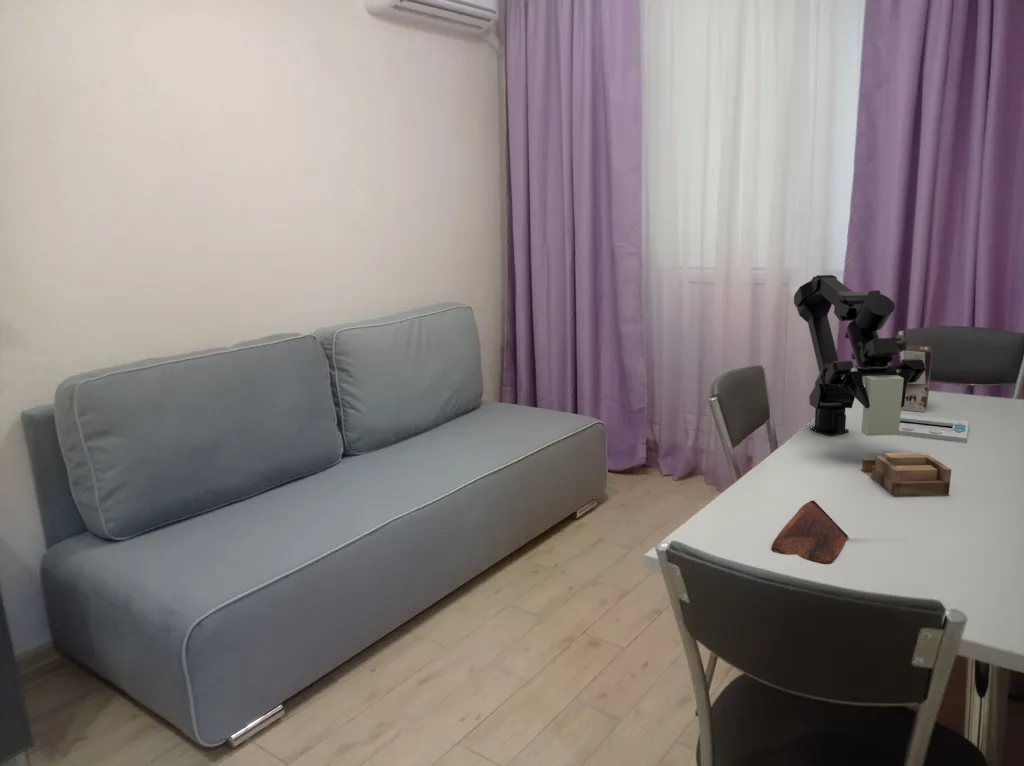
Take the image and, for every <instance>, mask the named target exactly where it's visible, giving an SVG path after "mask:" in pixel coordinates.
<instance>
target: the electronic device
mask: <svg viewBox="0 0 1024 766" xmlns="http://www.w3.org/2000/svg"><path fill="white" fill-rule="evenodd" d="M900 422H909V423H917V424H926V425H927V424H928V425H936V426H945V427H947V426H948V427H952V428H951V429H952V430H951V432H950V431H942V430H939V429H933V428H932V429H924V428H916V427H915V428H914V426H913V427H912V426H906V425H905V426H899V435H898V436H901V435H902V437H904V436H905V437H909V436H912V438H918V437H920V438H919V439H926V438H927V439H928V440H935V441H943V440H944V442H952V441H954V442H953V443H960V442H963V443H962V444H967V440H968V434H969V426H970V421H968V420H959V419H950V418H940V417H939V418H938V417H929V416H920V415H910V414H900Z"/></svg>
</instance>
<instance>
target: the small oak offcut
mask: <svg viewBox="0 0 1024 766" xmlns="http://www.w3.org/2000/svg"><path fill="white" fill-rule="evenodd" d="M896 467H897V468H899V469H900V470H901V481H936V479H937V469H936V468H934V467H932V466H931V465H917V466H896Z"/></svg>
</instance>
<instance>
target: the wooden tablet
mask: <svg viewBox="0 0 1024 766" xmlns="http://www.w3.org/2000/svg"><path fill="white" fill-rule="evenodd" d="M847 539H848V534H847V533H846V532H845V531H844V530H843V529H842V528H841V527H840V526H839V525H838V524H837V523H836V522H835V521H834V519H832V518H831V516H830V515H828V513H827V511H825V510H824V509H823V508H822V507H821V506H820V505H819V504H818V503H817V502H816V501H815V500H810V501H808V502H806V503H805V504H803V505H802V506H800V508H799V509H798V510H797V512H796V513H795V514H794V516H793V517H791V519H789V521H788V522H787V523H786V525H784V526H783V528H782V529H781V530H780V532H779V533H778V535H777V536H776V537H775V539H774V540H773V542H772V544H771V552H773V553H776V554H782V555H788V556H791V555H792V556H795V555H796V556H798V557H800V558H802V559H804V560H807V561H810V562H814V563H818V564H825V565H827V564H831V563H832V562H834V560H836V558H837V557H838V556H839V554H840V552H841V551H842V549H843V548H844V545H845V543H846V542H847Z"/></svg>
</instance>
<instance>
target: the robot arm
mask: <svg viewBox="0 0 1024 766" xmlns="http://www.w3.org/2000/svg"><path fill="white" fill-rule="evenodd" d="M793 303H794V307H796V309H797V312H798V313H797V314H798V315H799V316H800V318H802V319H803V320H804V321H806V323H807V325H808V329H809V332H810V333H809V334H810V338H811V342H812V346H813V350H814V355H815V360H816V363H817V368H818V375H817V377H816V380H815V382H814V387H813V389H812V391H811V393H810V394H809V399H808V400H809V406H811V407H813V408H814V409H815V410H814V411H815V415H814V426H809V429H810V428H811V427H812V428H811V429H813V430H812V431H814V430H816V431H815V432H817V431H818V433H820V432H821V433H820V434H824V435H826V436H834V435H838V434H845V433H849V431H850V430H849V429H848V428H846V421H847V414H846V409H853V405H854V401H855V399H856V400H858V401H859V403H860V404H861V405H862V407H863V406H864V407H865V408H869V407H870V404H869V399H868V396H867V393H866V390H865V383H864V382H863V377H866V376H895V375H898V376H900V377H902V378H904V381H903V392H902V402H901V408H902V407H903V406H904V403H905V393H906V385H907V383H914V382H916V381H917V380H918V379H919V378H920V376H921V375H922V374H923V373H924V371H925V370H926V366H925V363H924V361H923V360H921V359H904V358H902V360H901V361H900V362H899V363H898V365H889V363H892V362H893V360H894V358H893V356H895V355H899V354H900V353H901V352H903V351H904V350H906V347H907V340H906V338H905V335H900V334H899V335H898V334H897V335H894V336H892V337H883V338H882V337H880V335H879V332H878V331H880V330H882V329H883V328H884V326H885V325H886V323H887V322H888V320H889V319H890V317H891V316H892V314H893V313H894V310H895V308H896V307H895V303H894V301H893V300H891V298H890V297H888V296H886V295H884V294H881V291H880V290H869V292H868V294H867V293H866V292H858V291H853V290H851V289H850V288H849V287H847V286H846V285H844V283H842V282H841V281H840V280H838V278H837V276H836V275H833V274H820V275H819V274H817V275H816V276H815V275H814V276H813V277H812V279H811V280H809V281H808V282H806V283H804V284H803V285H800V286H799V287H798V288H797V291H795V293H794V295H793ZM832 305H833V307H834V309H833V313H834V315H835V317H837V320H839V322H849V324H848V325H847V327H846V331H845V333H844V339H849V344H850V346H851V350H852V354H851V355H850V356H851V359H852V360H855V363H856V364H854V363H853V361H852V360H840V359H839V356H838V352H837V348H836V345H835V340H834V337H833V333H832V329H831V324H830V321H829V317H828V315H829V312H830V310H831V308H832ZM811 429H810V430H811Z"/></svg>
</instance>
